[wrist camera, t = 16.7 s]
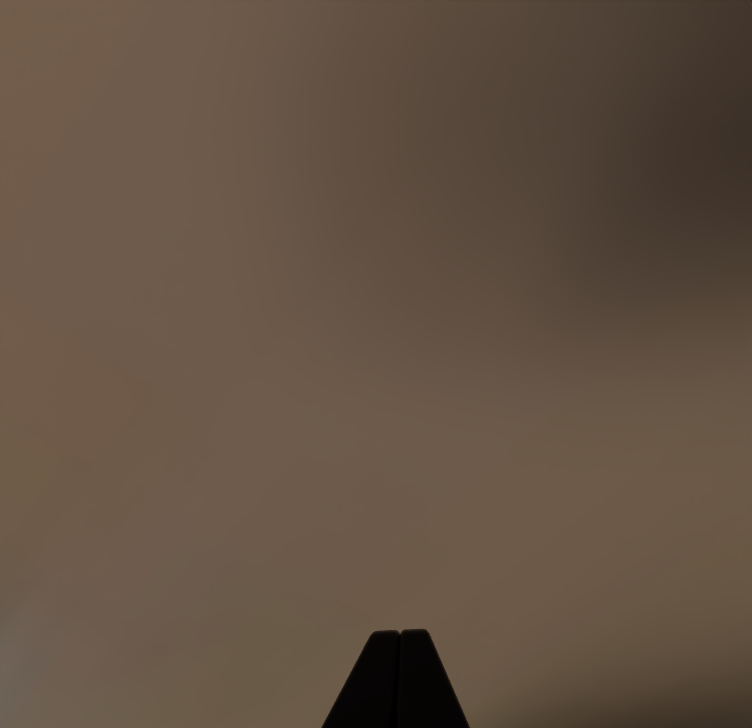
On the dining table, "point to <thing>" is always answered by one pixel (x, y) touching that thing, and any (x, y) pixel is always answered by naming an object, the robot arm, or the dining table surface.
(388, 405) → the dining table surface
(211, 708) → the dining table surface
